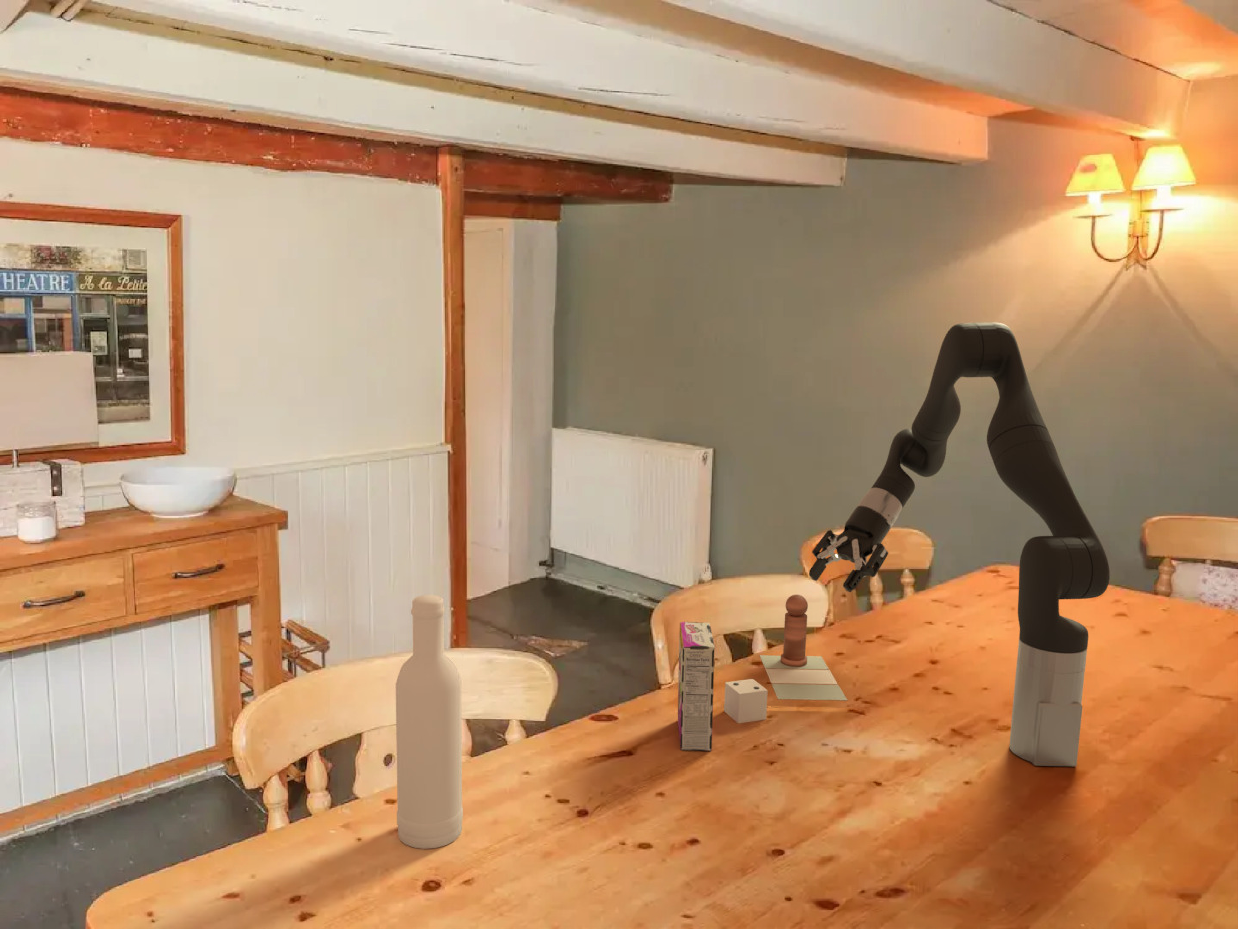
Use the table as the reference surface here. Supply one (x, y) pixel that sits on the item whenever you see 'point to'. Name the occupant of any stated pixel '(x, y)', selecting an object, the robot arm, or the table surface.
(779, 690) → the board
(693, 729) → the candy bar box
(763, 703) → the die
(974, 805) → the table surface
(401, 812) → the bottle
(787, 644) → the pawn
